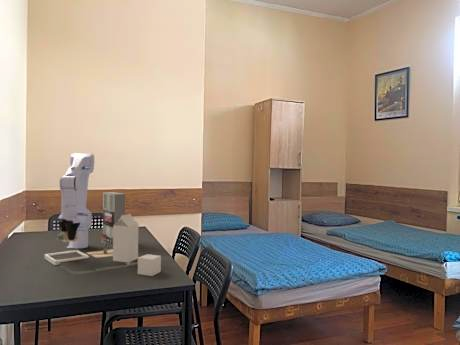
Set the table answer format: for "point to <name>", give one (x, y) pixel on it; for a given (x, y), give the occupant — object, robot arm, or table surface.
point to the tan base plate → (102, 252)
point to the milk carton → (125, 240)
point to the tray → (56, 262)
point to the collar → (65, 237)
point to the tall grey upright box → (111, 213)
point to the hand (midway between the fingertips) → (68, 238)
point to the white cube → (149, 264)
